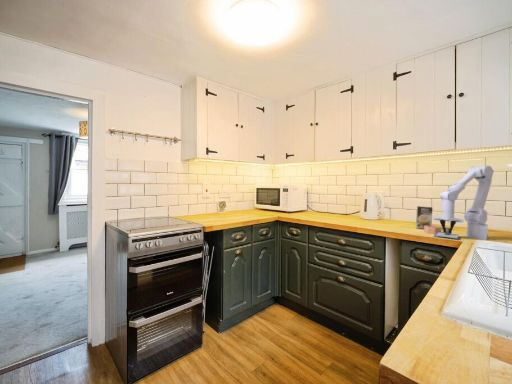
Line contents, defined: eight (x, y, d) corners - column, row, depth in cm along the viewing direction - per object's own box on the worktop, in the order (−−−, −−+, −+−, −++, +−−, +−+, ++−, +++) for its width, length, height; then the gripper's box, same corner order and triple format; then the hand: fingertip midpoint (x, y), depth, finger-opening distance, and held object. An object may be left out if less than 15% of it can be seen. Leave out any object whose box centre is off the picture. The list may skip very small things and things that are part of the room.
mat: (461, 237, 151) (461, 237, 151) (460, 241, 142) (460, 240, 142) (435, 234, 160) (435, 234, 160) (432, 237, 151) (432, 236, 151)
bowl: (441, 233, 165) (441, 226, 165) (440, 235, 159) (440, 228, 158) (425, 231, 171) (425, 224, 171) (423, 233, 165) (423, 226, 164)
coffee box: (416, 228, 180) (417, 206, 180) (415, 227, 186) (416, 206, 185) (431, 230, 176) (432, 207, 175) (430, 228, 181) (431, 207, 181)
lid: (458, 235, 152) (458, 228, 151) (457, 238, 144) (457, 230, 144) (438, 233, 158) (438, 226, 158) (436, 235, 151) (436, 228, 151)
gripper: (432, 210, 152) (432, 232, 153) (463, 212, 143) (462, 235, 143) (434, 209, 158) (433, 230, 158) (464, 211, 148) (463, 234, 149)
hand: (447, 233), depth 151 cm, fingers closed on lid, 2 cm apart
